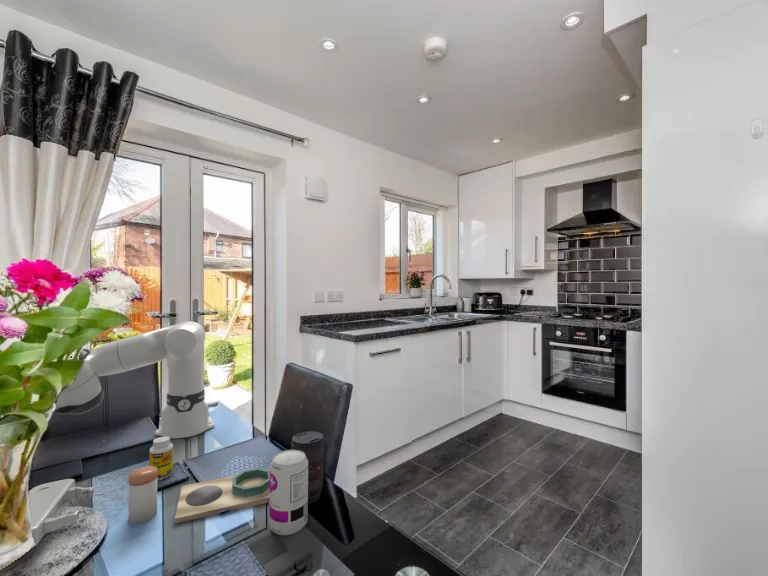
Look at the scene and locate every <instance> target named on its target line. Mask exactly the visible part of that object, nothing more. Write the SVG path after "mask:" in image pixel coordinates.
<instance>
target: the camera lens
mask: <svg viewBox="0 0 768 576" xmlns="http://www.w3.org/2000/svg"><path fill="white" fill-rule="evenodd" d="M291 438H292V439H291V444H290V445H291V446H290V448H291V449H290V450H300V451H302V452H304V453H305V456H306V458H307V460H308V504H312V503H315V502H316V501H318V500H320V497H321V494H322V490H323V483H324V456H325V439H324V434H322V433H321V432H319V431H311V430H309V431H302V432H299V433H296V434H294V435H293V436H292V437H291Z"/></svg>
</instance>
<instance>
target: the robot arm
mask: <svg viewBox="0 0 768 576" xmlns="http://www.w3.org/2000/svg"><path fill="white" fill-rule="evenodd" d="M205 340H206V331H205V329H204V327H203V326H202V324H199V322H195V321H192V320H191V321H188V320H187V321H183V322H179V323H177V324H176V323H175V324H173V325H169V326H166V327H163V328H158V329H156V330H151V331H148V332H144V333H141V334H140V333H139V334H137V335H134V336H133V335H132V336H129V337H125V338H121V339H118V340H114V341H111V342H108V343H105V344H103V345H100V346H97V347H95V348H94V349H91V350H90V349H88V348H81V349H82V351H81V353H80V355H79V359H83V360H84V365H83V367H82V369H81V371H80V373H79V375H78V377H77V379H76V380H75V381H74V383H73V384H72V385H71V386H70V387H68V388H66V389H64V390H63V391H62V392H61V394H60V396H59V397H58V399H57V403H56V410H55V411H54V412H55V414H58V415H74V416H75V415H82V414H85V413H89V412H90V411H92V410H94V409H96V408H98V406H100V405H101V403H102V402H103V401H104V399H105V392H104V391H105V390H104V387H103V386H101V383H100V380H99V377H104V376H112V375H116V374H121V373H125V372H128V371H132V370H136V369H139V368H143V367H146V366H150V365H153V364H156V363H159V362H162V361H165V360H166V364H167V372H168V373H167V374H168V375H167V377H168V378H167V381H168V382H167V384H168V386H167V389H168V390H167V391H168V392H167V393H166V397H165V398H166V399H165V401H166V406H165V407H164V408H163V410H161V416H160V426H159V428H158V429H156V430H155V432H154V436H159V437H163V436H168V437H170V439H183V438H189V437H194V436H196V435H199V434H202V433H204V432H206V431H207V430H210V429H213V428H215V426H216V425H215V423H214V421H213V419H212V417H211V414H210V412H209V409H210V407H209V404H208V403H206V401H205V396H206V395H205V393H206V392H205V389H204V364H203V355H202V354H203V353H202V352H203V351H202V345H203V343H204V341H205ZM70 358H72V356H71V357H70ZM28 492H29V502H30V519H31V525H32V531H31V532H32V537H33V539H34V543H35V547H36V546H38V544H39V542H40V541H41V539H42V538H43V537H44V536H45V534H48V533H51V532H52V533H53V532H54V531H57V530H59V529H61V528H62V527H65V526H69V525H73V524H75V523H76V522H77V520H78V519H79V518H80V516H79V513H80V512H79V510H74V511H68V512H67V513H66V514H63V515H60V513H61V512H62V511H63V510H64V508H65V507H66V505H67V504H68V502H69V501H71V500H75V499H76V498H82V500H84V499H86V500H87V499H90V498H92V497H93V495H94V494H95V487H94V486H89V487H84V486H83V487H82V486H76V480H75V479H74V478H65V479H60V480H56V481H50V482H45V483H42V484H39V485H36V486H34V487H32V488H31V489H30V490H29V491H28ZM59 515H60V516H59Z"/></svg>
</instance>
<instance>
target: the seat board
mask: <svg viewBox="0 0 768 576" xmlns="http://www.w3.org/2000/svg"><path fill="white" fill-rule="evenodd" d="M267 503H269V504H270V468H267V469H264V468H261V467H257V468H252V469H251V468H250V469H246V470H243V471H241V472H239V473H238V474H236V475H231V476H230V475H229V476H226V477H221V478H216V479H215V478H214V479H211V480H205V481H199V482H194V483H189V484H184V485H182V486H181V488H180V493H179V498H178V502H177V507H176V511H175V515H174V516H175V517H174V524H175V525H176V524H179V523H180V524H181V523H185V522H190V521H193V520H194V521H195V520H197V519H202V518H206V517H211V516H215V515H219V514H220V511H222V510H226V509H228V510H230V511H229V512H233V511H237V510H242V509H247V508H250V507H255V506H259V505H263V504H267ZM246 507H247V508H246Z"/></svg>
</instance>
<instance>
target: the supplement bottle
mask: <svg viewBox="0 0 768 576" xmlns="http://www.w3.org/2000/svg"><path fill="white" fill-rule="evenodd" d="M148 453H149V457H148V458H149V459H148V460H149V461H148V466H155V467H157V468H158V476H157V481H160V480H159V479H162V480H164V479H163V478H165V479H167V478H169V477H170V476H172V475H173V472H174V470H173V469H174V467H173V466H174V445H173V443H172V442H171V438H170V437H168V436H159V437H157V438H154V439H153V441H152V446H151V447H150V448H149V452H148ZM168 476H169V477H168ZM166 477H167V478H166Z"/></svg>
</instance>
